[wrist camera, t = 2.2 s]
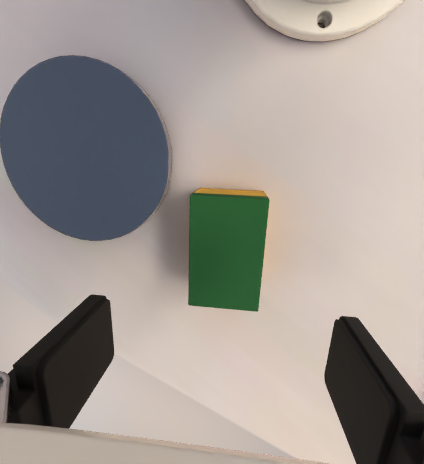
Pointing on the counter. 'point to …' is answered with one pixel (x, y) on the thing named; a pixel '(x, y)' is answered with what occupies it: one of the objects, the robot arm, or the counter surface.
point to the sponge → (226, 247)
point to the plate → (85, 148)
